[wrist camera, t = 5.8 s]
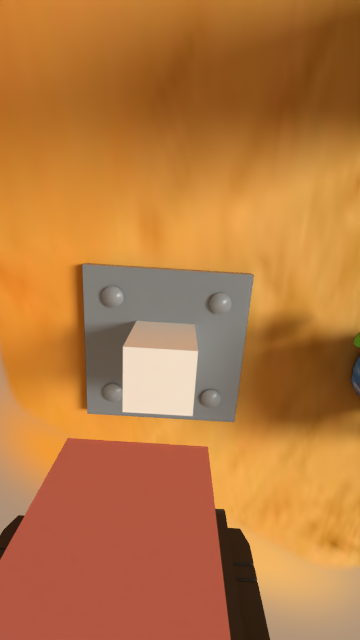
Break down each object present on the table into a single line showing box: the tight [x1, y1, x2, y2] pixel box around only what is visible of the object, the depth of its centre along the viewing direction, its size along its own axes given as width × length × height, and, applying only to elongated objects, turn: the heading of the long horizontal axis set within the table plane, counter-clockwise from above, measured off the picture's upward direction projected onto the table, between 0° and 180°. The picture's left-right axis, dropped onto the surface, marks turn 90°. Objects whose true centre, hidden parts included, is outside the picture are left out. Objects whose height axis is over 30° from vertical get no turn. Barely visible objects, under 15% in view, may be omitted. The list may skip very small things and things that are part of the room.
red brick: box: [0, 438, 231, 640], centre depth 8 cm, size 5×5×6 cm
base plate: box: [82, 263, 254, 422], centre depth 26 cm, size 14×14×1 cm
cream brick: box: [123, 321, 198, 416], centre depth 23 cm, size 5×5×6 cm
